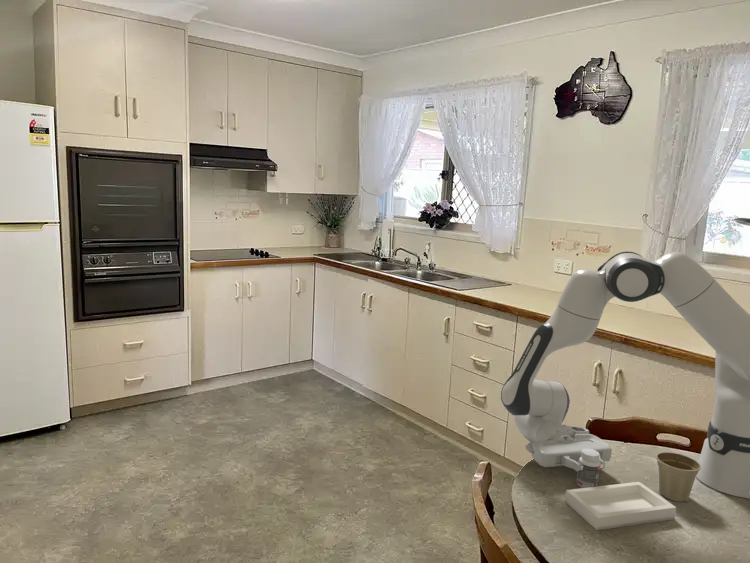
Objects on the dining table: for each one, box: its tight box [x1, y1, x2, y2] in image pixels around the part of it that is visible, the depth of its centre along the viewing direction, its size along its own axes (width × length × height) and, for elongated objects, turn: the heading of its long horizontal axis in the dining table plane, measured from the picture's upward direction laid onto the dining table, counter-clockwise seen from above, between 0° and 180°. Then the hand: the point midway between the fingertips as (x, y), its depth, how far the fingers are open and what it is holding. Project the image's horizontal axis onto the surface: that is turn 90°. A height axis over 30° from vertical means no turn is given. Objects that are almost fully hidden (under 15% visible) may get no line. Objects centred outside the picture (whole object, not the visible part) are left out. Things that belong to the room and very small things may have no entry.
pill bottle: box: [576, 449, 601, 488], centre depth 133 cm, size 5×5×8 cm
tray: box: [564, 481, 677, 531], centre depth 123 cm, size 20×11×3 cm, turn 106°
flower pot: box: [655, 451, 701, 503], centre depth 130 cm, size 9×9×9 cm
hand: (591, 467), depth 132 cm, fingers closed on pill bottle, 5 cm apart
